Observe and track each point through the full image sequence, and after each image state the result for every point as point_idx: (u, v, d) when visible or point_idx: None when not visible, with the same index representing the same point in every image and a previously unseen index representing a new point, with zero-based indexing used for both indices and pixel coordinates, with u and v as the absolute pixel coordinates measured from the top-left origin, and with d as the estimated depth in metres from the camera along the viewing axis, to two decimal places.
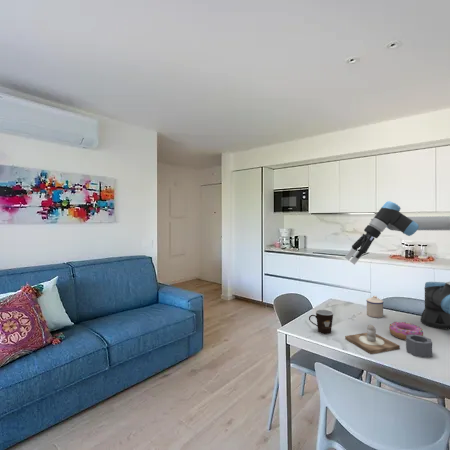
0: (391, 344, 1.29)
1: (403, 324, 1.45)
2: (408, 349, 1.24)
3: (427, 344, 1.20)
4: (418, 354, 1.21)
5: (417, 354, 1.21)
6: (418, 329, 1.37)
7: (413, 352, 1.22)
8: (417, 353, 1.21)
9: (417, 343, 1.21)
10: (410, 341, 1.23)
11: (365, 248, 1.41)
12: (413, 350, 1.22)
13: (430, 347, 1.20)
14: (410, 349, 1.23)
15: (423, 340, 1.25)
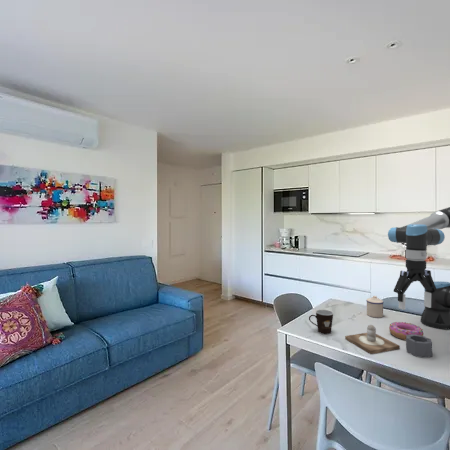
0: (391, 344, 1.29)
1: (403, 324, 1.45)
2: (408, 349, 1.24)
3: (427, 344, 1.20)
4: (418, 354, 1.21)
5: (417, 354, 1.21)
6: (418, 329, 1.37)
7: (413, 352, 1.22)
8: (417, 353, 1.21)
9: (417, 343, 1.21)
10: (410, 341, 1.23)
11: None
12: (413, 350, 1.22)
13: (430, 347, 1.20)
14: (410, 349, 1.23)
15: (423, 340, 1.25)
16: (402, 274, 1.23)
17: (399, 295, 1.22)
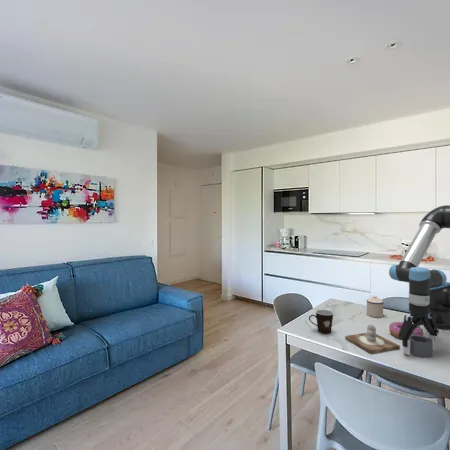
0: (391, 344, 1.29)
1: None
2: None
3: (427, 344, 1.20)
4: (418, 354, 1.21)
5: (417, 354, 1.21)
6: (418, 329, 1.37)
7: (413, 352, 1.22)
8: (417, 353, 1.21)
9: (417, 343, 1.21)
10: (410, 341, 1.23)
11: None
12: (413, 350, 1.22)
13: (430, 347, 1.20)
14: (410, 349, 1.23)
15: (423, 340, 1.25)
16: (406, 319, 1.22)
17: (404, 340, 1.21)
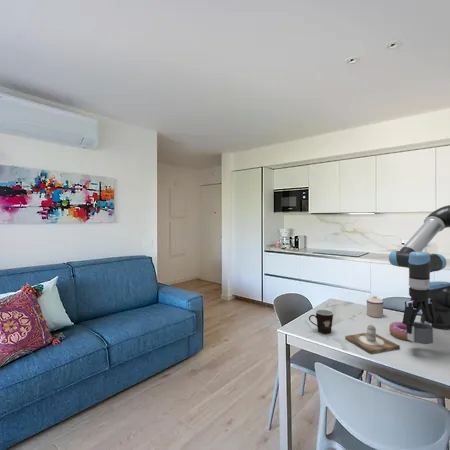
0: (391, 344, 1.29)
1: (403, 324, 1.45)
2: None
3: (428, 331, 1.20)
4: (419, 341, 1.21)
5: (418, 341, 1.21)
6: None
7: (414, 339, 1.22)
8: (418, 340, 1.21)
9: (418, 330, 1.21)
10: None
11: None
12: (414, 337, 1.22)
13: (431, 334, 1.20)
14: None
15: (424, 327, 1.25)
16: (407, 305, 1.22)
17: (408, 327, 1.22)
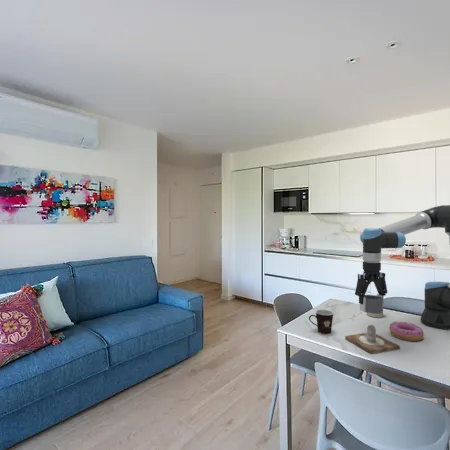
0: (391, 344, 1.29)
1: (403, 324, 1.45)
2: None
3: (377, 301, 1.28)
4: (369, 310, 1.29)
5: (368, 310, 1.29)
6: (418, 329, 1.37)
7: (365, 309, 1.30)
8: (368, 309, 1.29)
9: (368, 300, 1.29)
10: None
11: None
12: None
13: (380, 304, 1.28)
14: None
15: (376, 299, 1.33)
16: (359, 277, 1.30)
17: (360, 298, 1.30)
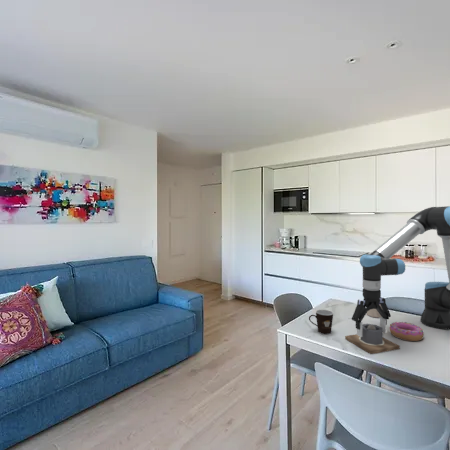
0: (391, 344, 1.29)
1: (403, 324, 1.45)
2: (361, 337, 1.33)
3: (377, 332, 1.28)
4: (369, 341, 1.29)
5: (369, 341, 1.29)
6: (418, 329, 1.37)
7: (365, 340, 1.30)
8: (369, 340, 1.29)
9: (369, 331, 1.29)
10: (363, 329, 1.32)
11: None
12: (365, 338, 1.30)
13: (380, 335, 1.29)
14: (363, 337, 1.32)
15: (376, 329, 1.34)
16: (359, 303, 1.30)
17: (357, 323, 1.30)
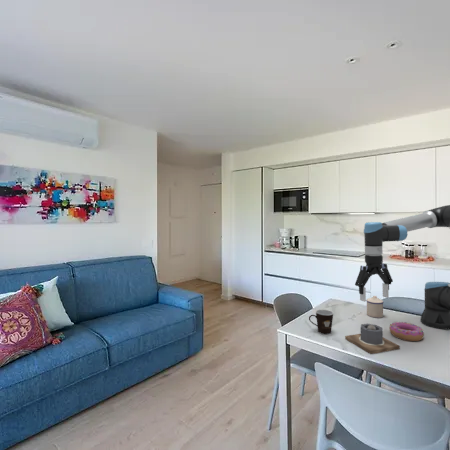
0: (391, 344, 1.29)
1: (403, 324, 1.45)
2: (361, 337, 1.33)
3: (377, 332, 1.28)
4: (369, 341, 1.29)
5: (369, 341, 1.29)
6: (418, 329, 1.37)
7: (365, 340, 1.30)
8: (369, 340, 1.29)
9: (369, 331, 1.29)
10: (363, 329, 1.32)
11: None
12: (365, 338, 1.30)
13: (380, 335, 1.29)
14: (363, 337, 1.32)
15: (376, 329, 1.34)
16: (362, 269, 1.33)
17: (360, 288, 1.33)
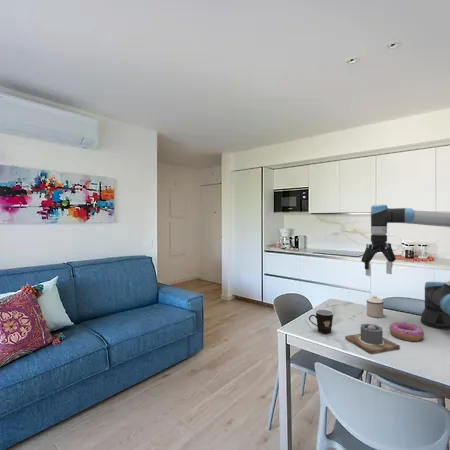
0: (391, 344, 1.29)
1: (403, 324, 1.45)
2: (361, 337, 1.33)
3: (377, 332, 1.28)
4: (369, 341, 1.29)
5: (369, 341, 1.29)
6: (418, 329, 1.37)
7: (365, 340, 1.30)
8: (369, 340, 1.29)
9: (369, 331, 1.29)
10: (363, 329, 1.32)
11: None
12: (365, 338, 1.30)
13: (380, 335, 1.29)
14: (363, 337, 1.32)
15: (376, 329, 1.34)
16: (368, 246, 1.47)
17: (366, 264, 1.47)
